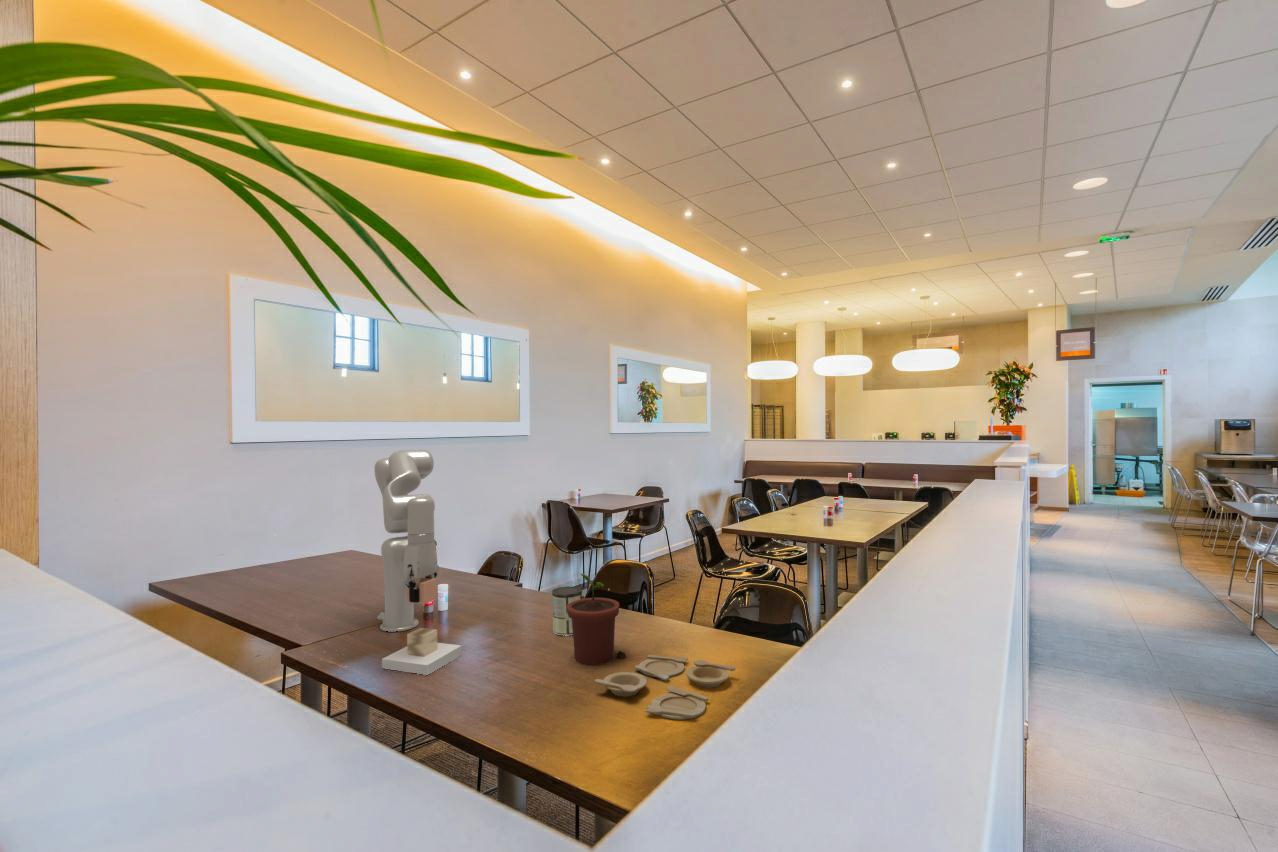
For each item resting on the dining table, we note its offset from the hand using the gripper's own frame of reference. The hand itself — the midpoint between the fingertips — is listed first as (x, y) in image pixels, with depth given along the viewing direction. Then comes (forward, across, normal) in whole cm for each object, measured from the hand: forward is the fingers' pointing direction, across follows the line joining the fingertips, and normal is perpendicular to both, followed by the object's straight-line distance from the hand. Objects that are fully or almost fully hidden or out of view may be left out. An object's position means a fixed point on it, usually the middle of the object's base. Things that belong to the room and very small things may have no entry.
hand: (422, 598), depth 180 cm
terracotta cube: (+1, 0, 0) cm, 1 cm away
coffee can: (+19, -37, +30) cm, 51 cm away
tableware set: (+20, -5, +75) cm, 78 cm away
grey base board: (+19, 0, 0) cm, 19 cm away
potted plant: (+19, -21, +48) cm, 56 cm away
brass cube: (+16, 0, 0) cm, 16 cm away
